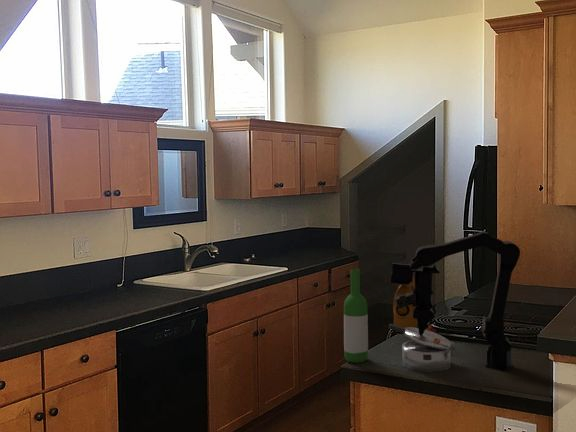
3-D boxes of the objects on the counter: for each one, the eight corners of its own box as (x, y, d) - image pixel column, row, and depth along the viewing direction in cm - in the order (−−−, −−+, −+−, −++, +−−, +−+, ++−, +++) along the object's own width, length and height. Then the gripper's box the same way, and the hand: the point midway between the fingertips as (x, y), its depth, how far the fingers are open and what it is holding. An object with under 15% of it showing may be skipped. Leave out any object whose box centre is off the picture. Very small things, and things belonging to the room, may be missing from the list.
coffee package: (389, 328, 251) (389, 272, 249) (397, 321, 262) (397, 267, 260) (415, 331, 247) (415, 274, 245) (422, 323, 258) (422, 268, 256)
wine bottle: (371, 362, 211) (370, 271, 208) (347, 364, 209) (346, 272, 207) (364, 355, 218) (363, 267, 216) (341, 357, 217) (340, 268, 214)
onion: (426, 344, 229) (426, 322, 229) (441, 347, 226) (441, 324, 225) (418, 348, 225) (418, 326, 224) (434, 351, 221) (434, 328, 220)
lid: (452, 341, 213) (454, 334, 213) (456, 355, 198) (458, 348, 198) (389, 322, 216) (390, 315, 216) (388, 334, 201) (390, 327, 201)
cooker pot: (448, 355, 216) (448, 338, 216) (452, 375, 197) (452, 355, 197) (402, 354, 219) (402, 336, 218) (402, 373, 200) (402, 354, 199)
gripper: (397, 278, 216) (395, 324, 218) (397, 290, 198) (395, 340, 200) (432, 281, 214) (429, 327, 216) (435, 293, 196) (432, 343, 198)
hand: (420, 334), depth 207 cm, fingers closed, pressing on lid
